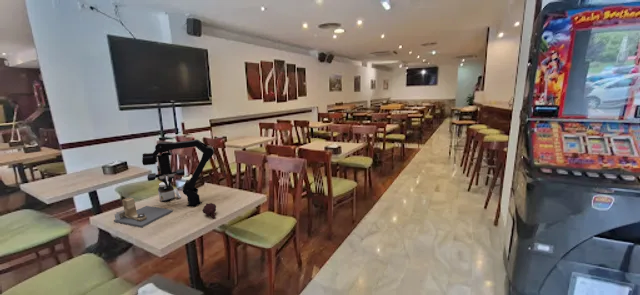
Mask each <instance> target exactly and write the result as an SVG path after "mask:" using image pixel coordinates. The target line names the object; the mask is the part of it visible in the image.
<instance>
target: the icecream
mask: <svg viewBox="0 0 640 295" xmlns="http://www.w3.org/2000/svg"><path fill="white" fill-rule="evenodd" d="M216 208H217V205H216V204H215V203H212V202H211V203H210V202H209V203H205V205H204V206H203V208H202V211H201V212H202V213H203V214H205V215H206V216H211V217H212V219H215V218H216V215H215V213H216V211H217V209H216Z"/></svg>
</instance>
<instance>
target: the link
mask: <svg viewBox="0 0 640 295" xmlns="http://www.w3.org/2000/svg"><path fill="white" fill-rule="evenodd" d="M121 201H122V202H121V203H122V207H123V210H124V211H125V214H123V217H127V218H131V219H135V220H137V221H143V220H145V219H147V217H146V215H145V216H143V217H140V218H138V216H137V215H138V214H137V212H136V210H137V207H136V203H135V198H132V197H126V198H123V199H122V200H121Z"/></svg>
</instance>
